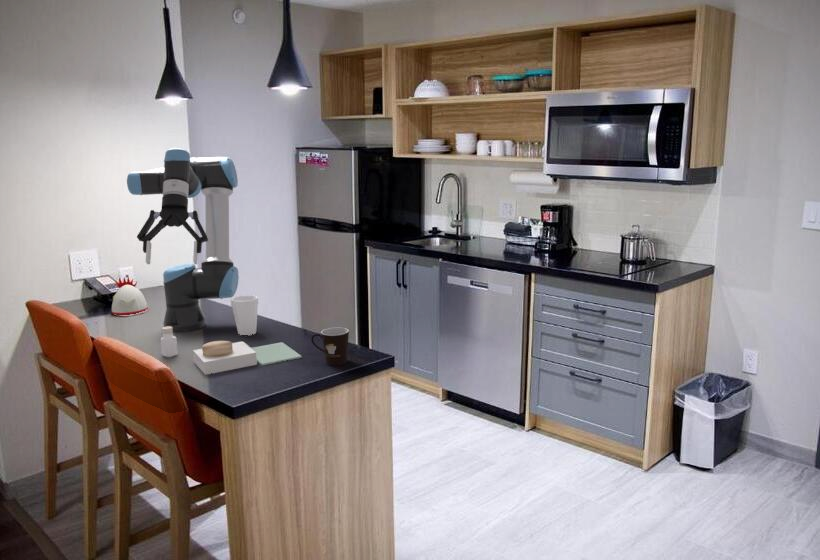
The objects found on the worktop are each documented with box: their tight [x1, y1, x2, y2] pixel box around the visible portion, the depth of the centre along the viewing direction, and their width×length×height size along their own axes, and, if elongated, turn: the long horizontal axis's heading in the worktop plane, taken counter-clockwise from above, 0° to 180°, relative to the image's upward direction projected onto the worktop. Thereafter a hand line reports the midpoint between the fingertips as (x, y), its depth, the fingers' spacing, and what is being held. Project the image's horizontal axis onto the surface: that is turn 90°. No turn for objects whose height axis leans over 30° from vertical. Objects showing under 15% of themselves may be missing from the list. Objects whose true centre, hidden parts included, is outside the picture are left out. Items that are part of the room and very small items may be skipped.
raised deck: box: [192, 340, 258, 376], centre depth 213 cm, size 14×16×4 cm
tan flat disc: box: [201, 340, 233, 357], centre depth 211 cm, size 9×9×2 cm
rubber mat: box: [250, 342, 302, 367], centre depth 221 cm, size 18×13×1 cm
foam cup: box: [230, 294, 259, 336], centre depth 245 cm, size 10×9×13 cm
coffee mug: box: [310, 326, 350, 366], centre depth 211 cm, size 12×9×10 cm
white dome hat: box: [111, 276, 149, 315], centre depth 280 cm, size 14×14×15 cm
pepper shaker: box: [160, 326, 179, 358], centre depth 222 cm, size 4×4×10 cm
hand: (171, 263), depth 203 cm, fingers open, 13 cm apart
